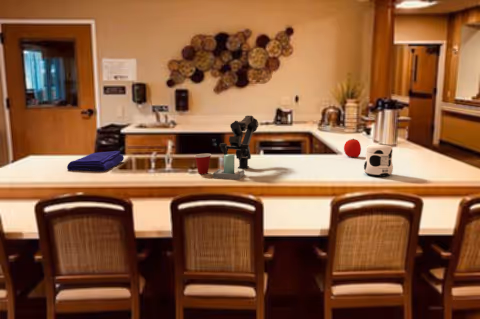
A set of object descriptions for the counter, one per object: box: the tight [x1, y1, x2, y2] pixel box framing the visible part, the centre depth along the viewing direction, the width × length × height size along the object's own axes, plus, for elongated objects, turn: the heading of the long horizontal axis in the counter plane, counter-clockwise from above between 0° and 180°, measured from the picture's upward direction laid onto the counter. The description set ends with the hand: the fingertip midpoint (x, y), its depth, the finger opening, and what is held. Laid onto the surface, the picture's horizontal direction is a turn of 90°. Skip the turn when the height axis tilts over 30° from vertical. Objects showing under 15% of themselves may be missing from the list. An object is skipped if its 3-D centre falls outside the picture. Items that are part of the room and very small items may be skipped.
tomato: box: [343, 138, 362, 158], centre depth 361 cm, size 13×11×14 cm
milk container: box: [363, 144, 394, 177], centre depth 298 cm, size 17×17×18 cm
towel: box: [66, 150, 125, 173], centre depth 321 cm, size 26×36×9 cm
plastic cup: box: [193, 153, 212, 175], centre depth 300 cm, size 11×11×12 cm
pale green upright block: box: [223, 153, 236, 174], centre depth 292 cm, size 6×6×12 cm
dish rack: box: [212, 168, 245, 180], centre depth 293 cm, size 14×16×3 cm
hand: (231, 159), depth 295 cm, fingers open, 9 cm apart
